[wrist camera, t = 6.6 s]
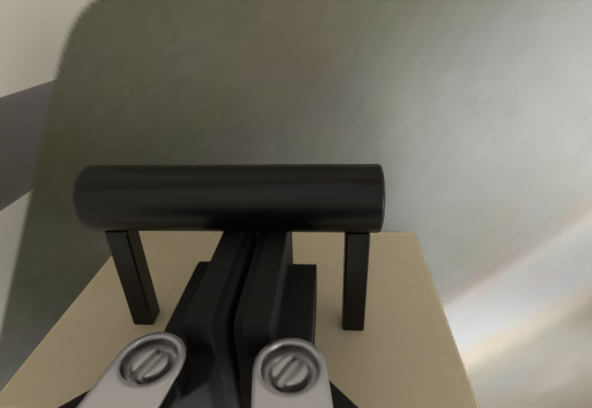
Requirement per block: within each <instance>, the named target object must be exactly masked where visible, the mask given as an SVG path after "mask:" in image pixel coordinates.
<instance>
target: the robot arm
mask: <svg viewBox="0 0 592 408" xmlns="http://www.w3.org/2000/svg"><path fill="white" fill-rule="evenodd" d="M316 309H317V265H316V264H293V244H292V232H223V234H222V236H221V238H220V241H219V243H218V245H217V247H216V249H215V252H214V254H213V256H212V258H211V260H210V261H200V262H199V263H198V264H197V266H196V267H195V269H194V271H193V273H192V276H191V278H190V280H189V282H188V284H187V286H186V288H185V290H184V292H183V294H182V296H181V298H180V300H179V302H178V304H177V306H176V308H175V310H174V312H173V314H172V316H171V318H170V320H169V322H168V324H167V326H166V328H165V330H164V332H155V333H150V334H146V335H144V336H141V337H139V338H136V339H135V340H133V341H132V342H130V343H129V344H127V345H126V346H125V347H124V348H123V349H122V350H121V351H120V352H119V353H118V354H117V356H116V357H115V358H114V360H113V361H112V362H111V363H110V365H109V366H108V367H107V369H106V370H105V371H104V372H103V374H102V375H101V376H100V378H99V379H98V380H97V382H96V383H95V384H94V385H93V387H92V388H91V389H90V390H88V391H86V392H85V393H83V394H81V395H79V396H78V397H76V398H74V399H72V400H70V401H69V402H67V403H65V404H63V405H62V406H60V407H58V408H358V407H357V406H356V405H355V404H354V403H353V402H352V401H351V400H350V399H349V398H348V397H347V396H346V395H344V394H343V393H342V392H341V391H340V390H339V389H338V388H337V387H336V386H335V385H334V384H333V383H332V382H331V381H330V380H329V377H328V371H327V365H326V361H325V359H324V356H323V354H322V353H321V351H320V350H319V349H318V348H317V347H316V346H315V331H316Z"/></svg>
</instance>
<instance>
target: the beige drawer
mask: <svg viewBox="0 0 592 408" xmlns="http://www.w3.org/2000/svg"><path fill="white" fill-rule="evenodd" d="M73 206H74V211H75V214H76V216H77V218H78V220H79V222H80V223H81V224H82V225H83V226H84V227H85V228H87V229H89V230H94V231H105V236H106V239H107V242H108V245H109V248H110V251H111V257H110V258H109V259H108V260H107V261H106V263H105V264H104V265H103V266H102V268H101V269H100V270H99V271H98V273H97V274H96V275H95V276H94V277H93V279H92V280H91V281H90V282H89V284H88V285H87V286H86V287H85V288H84V290H83V291H82V292H81V293H80V295H79V296H78V297H77V298H76V300H75V301H74V302H73V303H72V304H71V306H70V307H69V308H68V309H67V311H66V312H65V313H64V314H63V315H62V317H61V318H60V319H59V320H58V322H57V323H56V324H55V325H54V327H53V328H52V329H51V330H50V331H49V333H48V334H47V335H46V336H45V338H44V339H43V340H42V341H41V342H40V344H39V345H38V346H37V347H36V349H35V350H34V351H33V352H32V354H31V355H30V356H29V357H28V358H27V360H26V361H25V362H24V363H23V365H22V366H21V367H20V368H19V369H18V371H17V372H16V373H15V374H14V376H13V377H12V378H11V379H10V381H9V382H8V383H7V384H6V385H5V387H4V388H3V389H2V390H1V392H0V408H58V407H60V406H62V405H63V404H65V403H67V402H69V401H70V400H72V399H74V398H76V397H78V396H79V395H81V394H83V393H85V392H86V391H88V390H90V389H91V388H92V387H93V385H94V384H95V383H96V382H97V380H98V379H99V378H100V376H101V375H102V374H103V372H104V371H105V370H106V369H107V367H108V366H109V365H110V363H111V362H112V361H113V360H114V358H115V357H116V356H117V354H118V353H119V352H120V351H121V350H122V349H123V348H124V347H125V346H126V345H127V344H129V343H130V342H132V341H133V340H135V339H136V338H139V337H141V336H144V335H146V334H150V333H155V332H164V330H165V328H166V326H167V324H168V322H169V320H170V318H171V316H172V314H173V312H174V310H175V308H176V306H177V304H178V302H179V300H180V298H181V296H182V294H183V292H184V290H185V288H186V286H187V284H188V282H189V280H190V278H191V276H192V273H193V271H194V269H195V267H196V266H197V264H198V263H199V262H200V261H210V260H211V258H212V256H213V254H214V252H215V249H216V247H217V245H218V243H219V241H220V238H221V236H222V234H223V232H292V244H293V264H316V265H317V309H316V331H315V346H316V347H317V348H318V349H319V350H320V351H321V353H322V354H323V356H324V359H325V361H326V365H327V371H328V377H329V380H330V381H331V382H332V383H333V384H334V385H335V386H336V387H337V388H338V389H339V390H340V391H341V392H342V393H343V394H344V395H346V396H347V397H348V398H349V399H350V400H351V401H352V402H353V403H354V404H355V405H356V406H357V407H358V408H479V406H478V403H477V400H476V398H475V395H474V392H473V389H472V387H471V384H470V381H469V378H468V376H467V373H466V370H465V368H464V365H463V362H462V359H461V357H460V354H459V351H458V349H457V346H456V343H455V340H454V338H453V335H452V332H451V329H450V327H449V324H448V321H447V319H446V316H445V313H444V310H443V308H442V305H441V302H440V300H439V297H438V294H437V291H436V289H435V286H434V283H433V280H432V278H431V275H430V272H429V270H428V267H427V264H426V261H425V259H424V256H423V253H422V251H421V248H420V245H419V242H418V240H417V237H416V234H415V233H414V232H381V230H382V227H383V223H384V215H385V180H384V173H383V169H382V167H381V165H379V164H265V165H92V166H89V167H86V168H85V169H83V170H82V171H81V172H80V174H79V175H78V177H77V179H76V181H75V185H74V189H73Z"/></svg>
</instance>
